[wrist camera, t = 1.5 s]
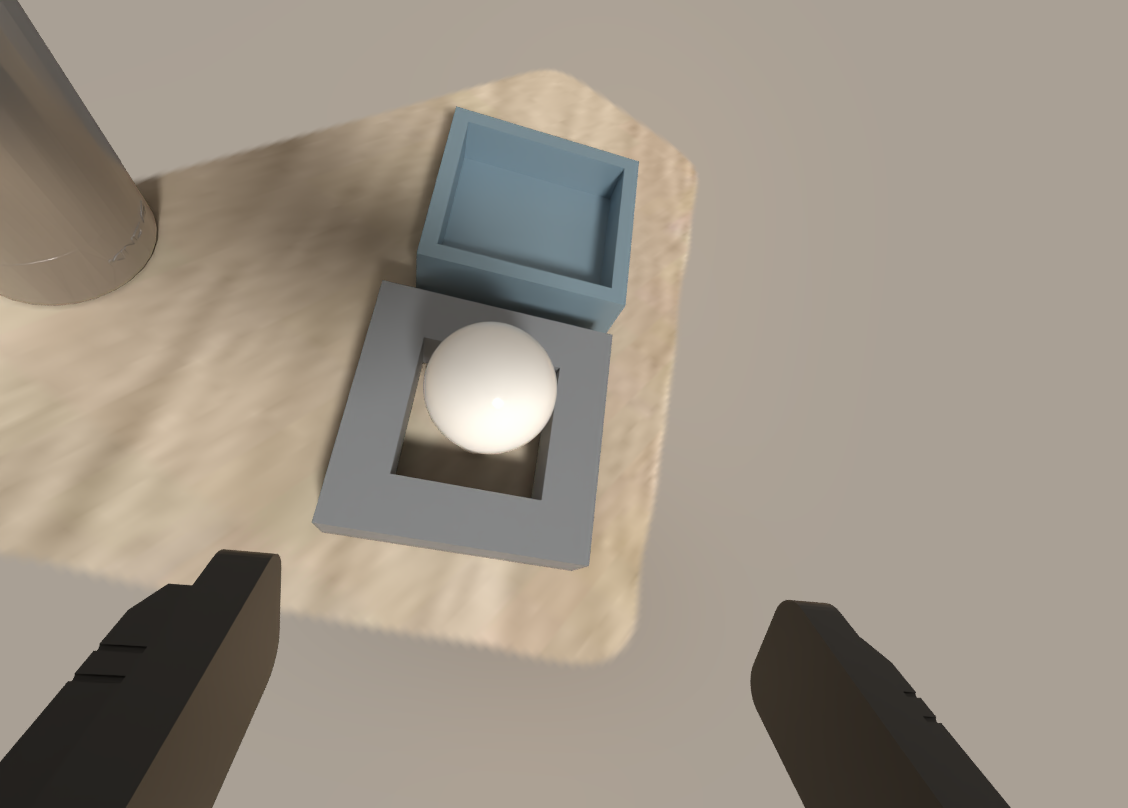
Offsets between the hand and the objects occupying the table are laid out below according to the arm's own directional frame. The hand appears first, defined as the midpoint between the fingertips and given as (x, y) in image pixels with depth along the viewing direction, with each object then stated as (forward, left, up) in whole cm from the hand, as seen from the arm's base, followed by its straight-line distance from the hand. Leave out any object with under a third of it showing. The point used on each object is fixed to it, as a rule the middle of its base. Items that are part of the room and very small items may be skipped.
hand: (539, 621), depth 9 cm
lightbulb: (-1, +10, -24) cm, 26 cm away
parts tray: (0, +25, -24) cm, 35 cm away
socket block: (-1, +10, -24) cm, 26 cm away
